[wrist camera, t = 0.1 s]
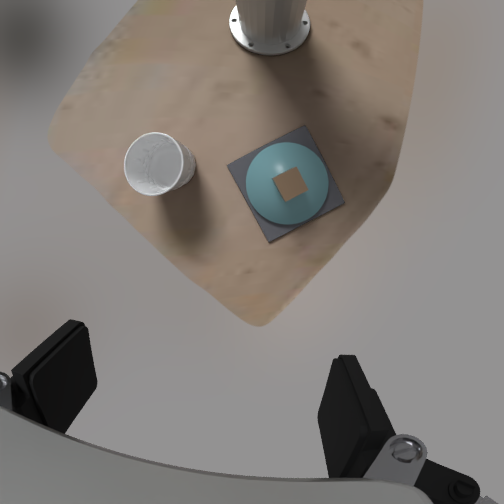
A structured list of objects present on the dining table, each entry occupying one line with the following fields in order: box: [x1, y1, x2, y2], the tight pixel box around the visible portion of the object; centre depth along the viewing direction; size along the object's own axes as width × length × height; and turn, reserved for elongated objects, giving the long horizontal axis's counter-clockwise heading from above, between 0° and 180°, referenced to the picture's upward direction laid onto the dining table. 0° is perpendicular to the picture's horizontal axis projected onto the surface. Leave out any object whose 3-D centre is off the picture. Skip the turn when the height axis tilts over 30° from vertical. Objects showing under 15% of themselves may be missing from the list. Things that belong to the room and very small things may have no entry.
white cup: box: [124, 132, 196, 196], centre depth 40 cm, size 8×8×10 cm
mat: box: [227, 126, 345, 242], centre depth 45 cm, size 13×13×1 cm
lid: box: [246, 142, 328, 224], centre depth 42 cm, size 12×12×6 cm
